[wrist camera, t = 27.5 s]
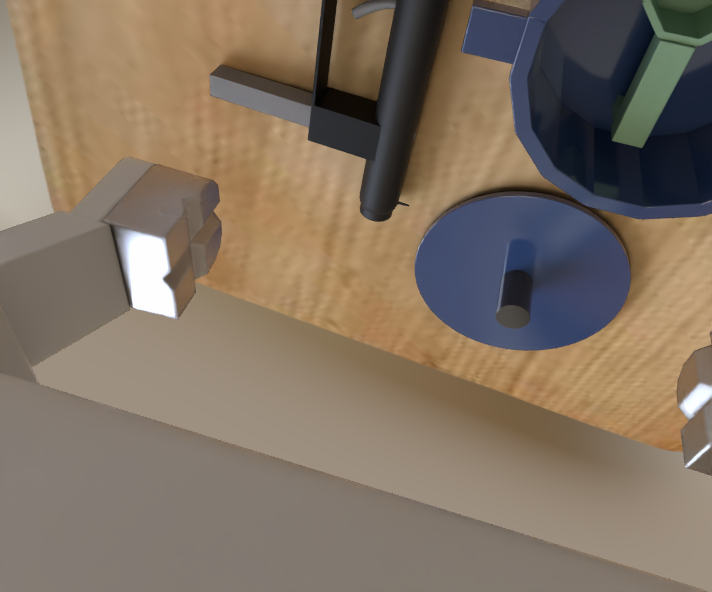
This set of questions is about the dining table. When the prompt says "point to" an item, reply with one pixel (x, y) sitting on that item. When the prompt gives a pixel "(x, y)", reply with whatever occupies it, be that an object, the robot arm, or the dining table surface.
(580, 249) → the lid
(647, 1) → the scoop
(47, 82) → the dining table surface
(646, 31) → the pot
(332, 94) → the door handle
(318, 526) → the robot arm
